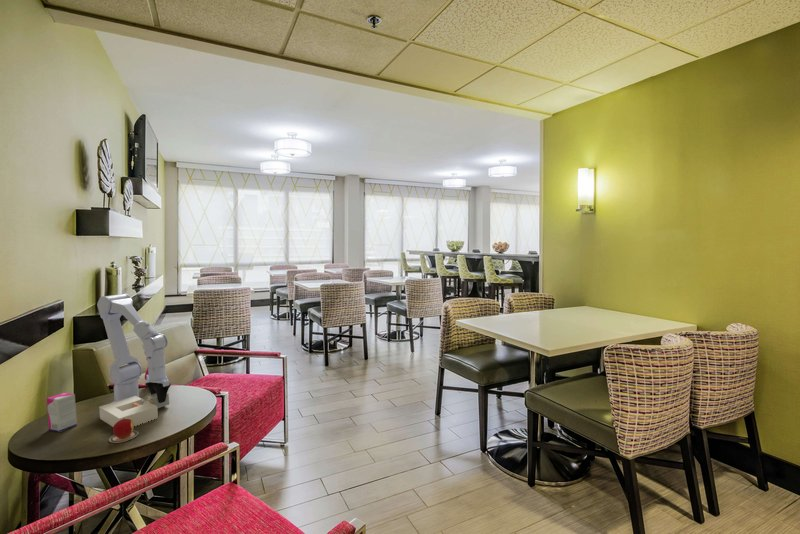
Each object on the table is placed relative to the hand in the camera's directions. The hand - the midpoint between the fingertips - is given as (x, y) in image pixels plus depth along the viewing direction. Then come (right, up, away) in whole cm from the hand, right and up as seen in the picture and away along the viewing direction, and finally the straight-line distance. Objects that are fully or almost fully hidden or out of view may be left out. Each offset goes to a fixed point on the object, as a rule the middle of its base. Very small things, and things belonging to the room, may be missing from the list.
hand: (158, 400), depth 155 cm
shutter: (-4, -3, -6) cm, 8 cm away
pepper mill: (-17, -2, +25) cm, 30 cm away
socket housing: (-6, -4, -8) cm, 11 cm away
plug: (0, -2, 0) cm, 2 cm away
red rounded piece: (+2, -5, -23) cm, 23 cm away
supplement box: (-25, -5, -15) cm, 29 cm away
